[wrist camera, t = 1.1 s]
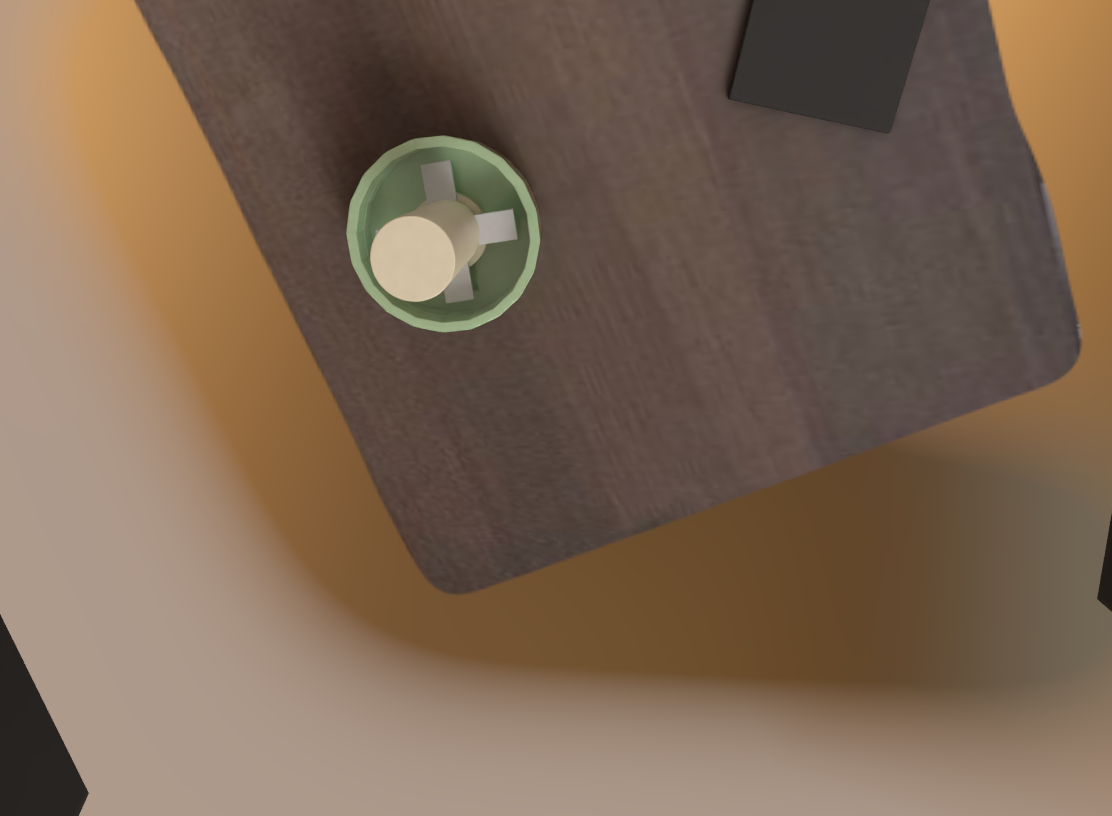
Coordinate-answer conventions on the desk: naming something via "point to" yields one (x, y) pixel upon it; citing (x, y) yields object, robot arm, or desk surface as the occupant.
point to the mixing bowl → (401, 191)
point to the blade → (437, 241)
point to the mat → (829, 58)
